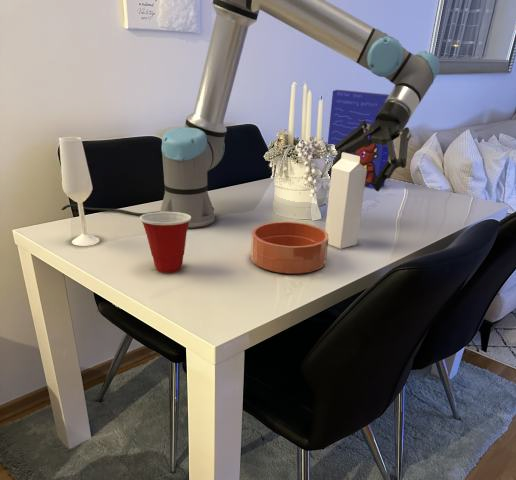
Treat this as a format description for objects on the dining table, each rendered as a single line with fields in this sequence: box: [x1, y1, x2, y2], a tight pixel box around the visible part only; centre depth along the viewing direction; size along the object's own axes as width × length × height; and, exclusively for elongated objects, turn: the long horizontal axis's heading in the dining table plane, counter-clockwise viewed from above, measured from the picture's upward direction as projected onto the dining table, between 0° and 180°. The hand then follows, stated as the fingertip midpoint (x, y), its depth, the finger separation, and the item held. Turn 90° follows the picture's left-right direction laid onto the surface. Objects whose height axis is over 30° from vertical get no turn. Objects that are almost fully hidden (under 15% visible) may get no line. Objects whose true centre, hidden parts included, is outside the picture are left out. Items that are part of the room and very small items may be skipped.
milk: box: [324, 152, 367, 250], centre depth 125 cm, size 6×6×22 cm
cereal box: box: [327, 89, 390, 189], centre depth 180 cm, size 22×6×30 cm, turn 52°
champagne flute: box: [58, 136, 100, 247], centre depth 119 cm, size 7×7×24 cm
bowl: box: [250, 221, 329, 275], centre depth 118 cm, size 18×18×6 cm
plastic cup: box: [139, 211, 191, 274], centre depth 110 cm, size 11×11×12 cm
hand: (352, 182), depth 124 cm, fingers open, 13 cm apart
